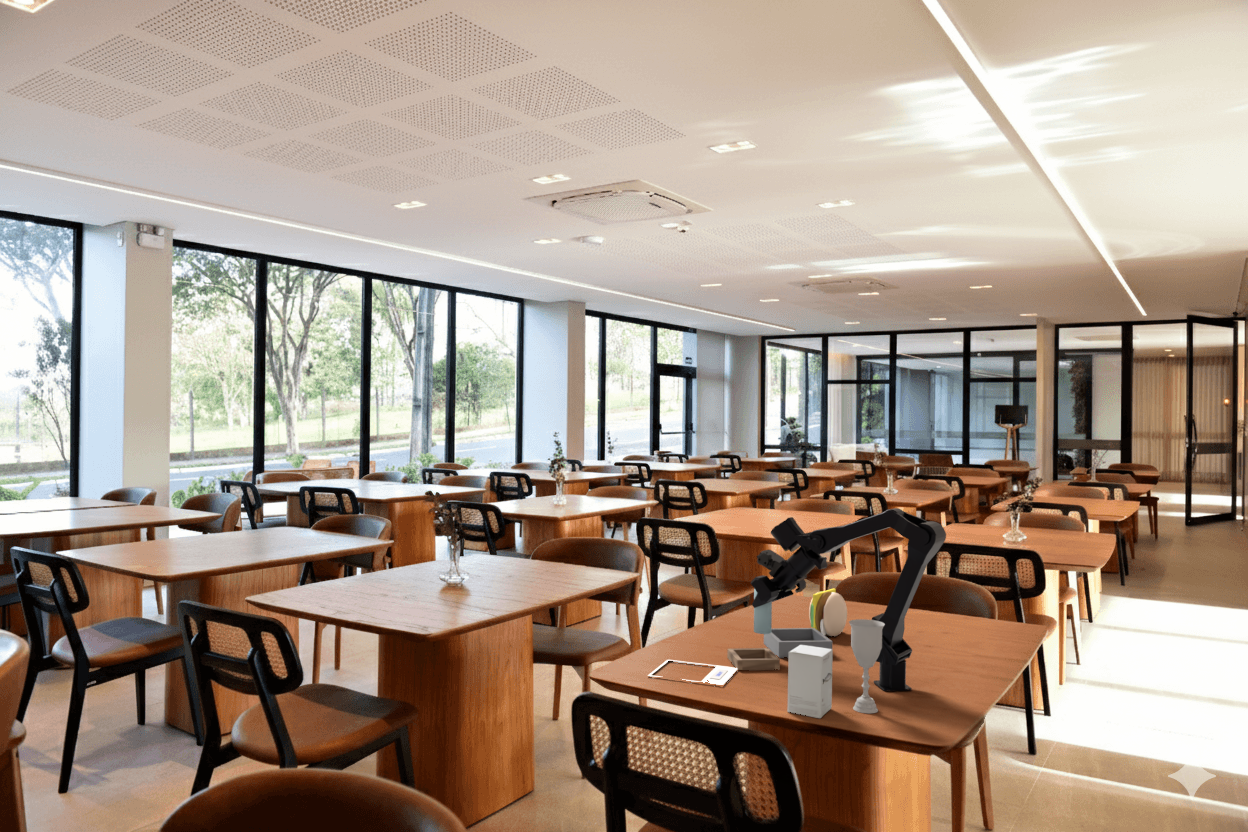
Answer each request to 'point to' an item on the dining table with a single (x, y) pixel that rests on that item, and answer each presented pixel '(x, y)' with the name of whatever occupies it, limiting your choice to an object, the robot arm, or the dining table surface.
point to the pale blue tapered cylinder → (763, 618)
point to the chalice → (866, 656)
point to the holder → (753, 659)
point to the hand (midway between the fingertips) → (758, 604)
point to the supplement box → (810, 681)
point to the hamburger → (828, 612)
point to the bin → (794, 640)
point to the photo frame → (714, 677)
